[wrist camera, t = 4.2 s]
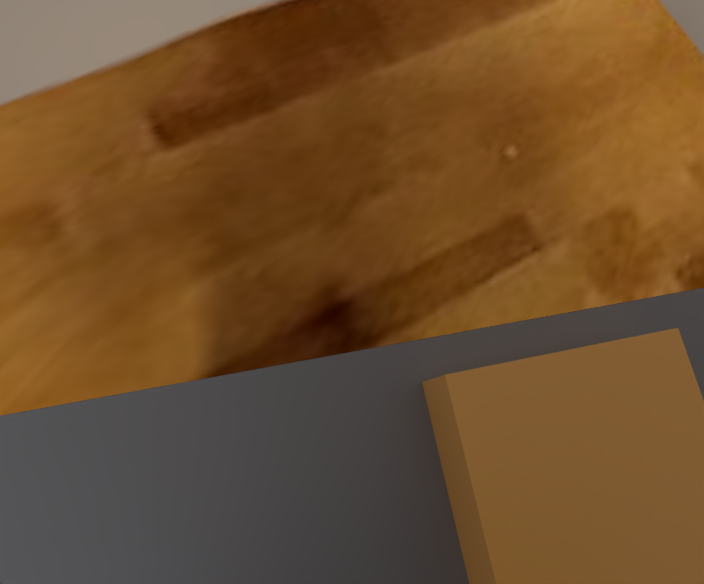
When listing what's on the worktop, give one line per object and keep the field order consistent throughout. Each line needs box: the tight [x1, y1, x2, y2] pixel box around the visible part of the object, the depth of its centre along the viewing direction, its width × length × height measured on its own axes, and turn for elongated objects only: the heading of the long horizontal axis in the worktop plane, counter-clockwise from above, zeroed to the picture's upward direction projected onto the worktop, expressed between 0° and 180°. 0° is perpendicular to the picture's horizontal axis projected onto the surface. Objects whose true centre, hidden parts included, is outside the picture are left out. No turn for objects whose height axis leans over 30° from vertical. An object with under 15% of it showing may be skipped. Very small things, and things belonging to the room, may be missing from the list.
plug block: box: [0, 288, 704, 584], centre depth 8 cm, size 5×5×13 cm
